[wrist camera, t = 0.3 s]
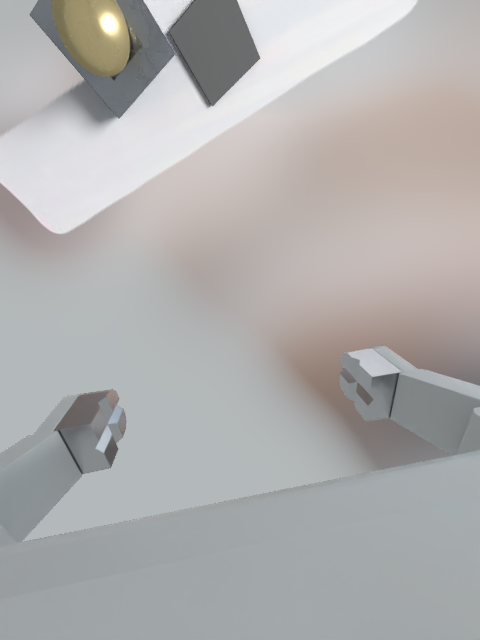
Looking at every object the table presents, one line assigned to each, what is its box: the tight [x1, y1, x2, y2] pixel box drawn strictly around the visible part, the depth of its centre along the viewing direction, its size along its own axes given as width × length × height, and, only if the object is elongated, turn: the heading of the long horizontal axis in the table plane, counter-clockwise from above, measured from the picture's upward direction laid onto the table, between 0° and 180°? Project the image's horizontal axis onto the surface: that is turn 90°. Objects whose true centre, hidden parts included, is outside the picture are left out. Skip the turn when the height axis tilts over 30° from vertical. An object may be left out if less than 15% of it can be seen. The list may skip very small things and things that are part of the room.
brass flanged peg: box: [52, 0, 132, 77], centre depth 29 cm, size 7×7×13 cm
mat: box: [169, 0, 260, 106], centre depth 37 cm, size 10×10×1 cm
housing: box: [30, 0, 175, 119], centre depth 33 cm, size 12×12×5 cm
